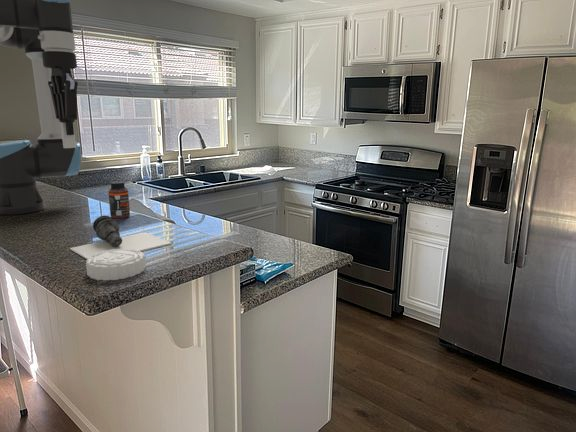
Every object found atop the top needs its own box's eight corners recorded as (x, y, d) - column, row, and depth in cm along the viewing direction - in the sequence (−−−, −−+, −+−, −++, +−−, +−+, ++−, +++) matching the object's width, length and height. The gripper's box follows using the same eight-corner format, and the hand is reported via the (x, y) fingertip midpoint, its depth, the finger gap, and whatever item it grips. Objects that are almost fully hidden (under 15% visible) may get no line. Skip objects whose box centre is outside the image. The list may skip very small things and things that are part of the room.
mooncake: (74, 277, 93) (72, 261, 92) (114, 259, 104) (112, 244, 103) (120, 284, 89) (118, 268, 88) (157, 265, 100) (156, 250, 99)
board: (70, 249, 110) (70, 248, 110) (145, 233, 124) (144, 232, 124) (93, 263, 100) (92, 261, 100) (171, 244, 114) (171, 242, 114)
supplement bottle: (123, 219, 140) (120, 184, 137) (106, 218, 141) (103, 183, 138) (133, 215, 145) (130, 180, 143) (117, 214, 146) (114, 180, 144)
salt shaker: (90, 217, 114) (104, 237, 106) (113, 212, 118) (129, 231, 109) (93, 237, 117) (108, 258, 109) (116, 231, 120) (132, 251, 112)
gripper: (33, 51, 111) (45, 146, 117) (52, 48, 102) (64, 151, 108) (64, 53, 116) (74, 144, 122) (85, 51, 107) (95, 148, 114)
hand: (69, 147), depth 115 cm, fingers closed
